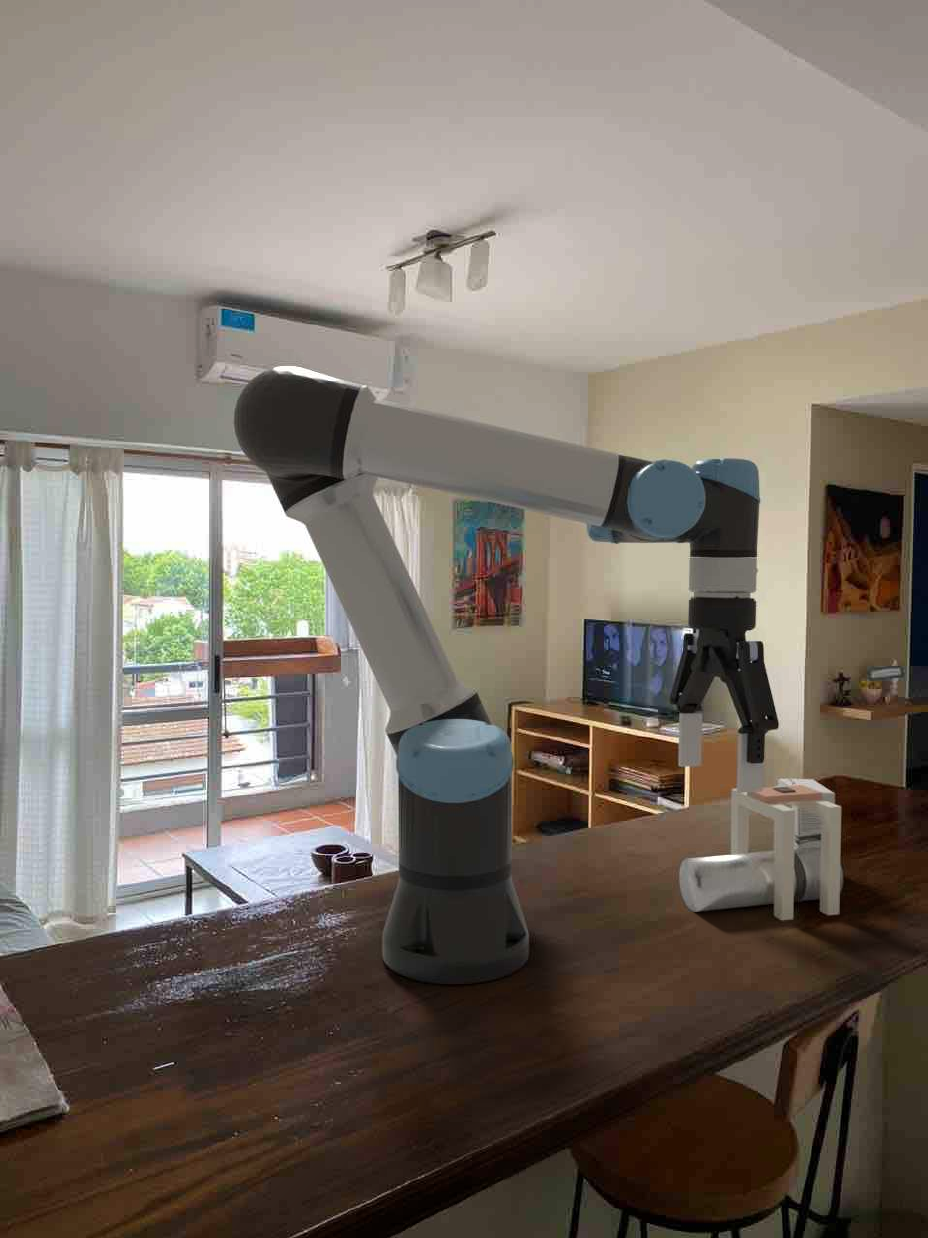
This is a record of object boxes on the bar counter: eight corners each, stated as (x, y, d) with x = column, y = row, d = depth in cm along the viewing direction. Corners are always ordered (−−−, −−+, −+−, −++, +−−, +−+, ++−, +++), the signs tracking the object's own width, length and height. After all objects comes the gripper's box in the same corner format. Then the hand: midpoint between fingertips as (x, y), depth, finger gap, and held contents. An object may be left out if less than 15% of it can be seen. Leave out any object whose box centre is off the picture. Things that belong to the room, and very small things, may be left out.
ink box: (836, 885, 118) (838, 792, 117) (796, 885, 118) (798, 792, 117) (812, 864, 126) (814, 777, 125) (775, 863, 126) (776, 777, 126)
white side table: (781, 920, 106) (783, 802, 105) (730, 888, 116) (731, 780, 116) (839, 914, 108) (841, 798, 107) (783, 883, 118) (785, 777, 118)
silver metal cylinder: (701, 922, 107) (705, 872, 105) (677, 896, 112) (681, 849, 111) (840, 907, 111) (845, 859, 110) (810, 883, 117) (815, 837, 115)
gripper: (817, 599, 97) (811, 802, 98) (698, 592, 121) (694, 755, 122) (752, 598, 95) (746, 806, 96) (645, 592, 119) (641, 757, 120)
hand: (717, 778), depth 109 cm, fingers open, 13 cm apart
